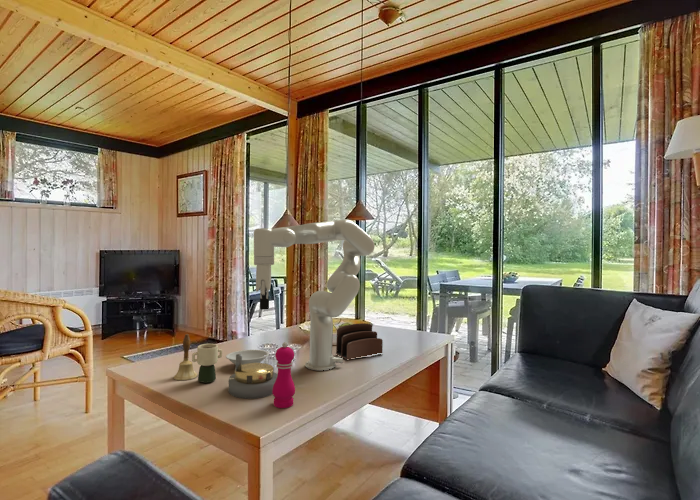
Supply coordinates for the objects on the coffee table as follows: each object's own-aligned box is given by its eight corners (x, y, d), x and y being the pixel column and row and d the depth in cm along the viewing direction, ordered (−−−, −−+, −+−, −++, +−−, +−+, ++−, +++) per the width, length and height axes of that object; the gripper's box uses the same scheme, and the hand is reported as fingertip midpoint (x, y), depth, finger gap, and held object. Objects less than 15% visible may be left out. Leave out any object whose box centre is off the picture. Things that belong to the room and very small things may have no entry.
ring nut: (266, 369, 146) (267, 346, 146) (278, 380, 135) (279, 355, 135) (230, 374, 139) (231, 350, 139) (240, 386, 128) (241, 360, 128)
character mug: (218, 375, 149) (219, 341, 149) (225, 381, 144) (225, 346, 144) (188, 381, 143) (189, 345, 142) (194, 387, 137) (195, 350, 137)
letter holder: (335, 355, 182) (336, 325, 181) (370, 350, 192) (371, 321, 192) (346, 361, 173) (347, 329, 173) (382, 355, 184) (383, 325, 183)
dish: (230, 375, 151) (230, 362, 151) (221, 364, 163) (221, 352, 163) (274, 368, 160) (274, 356, 160) (262, 359, 172) (262, 347, 172)
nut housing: (280, 380, 146) (280, 369, 146) (276, 398, 130) (276, 385, 129) (233, 380, 145) (234, 369, 145) (223, 398, 128) (223, 386, 128)
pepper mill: (267, 406, 123) (269, 343, 123) (279, 398, 130) (281, 338, 129) (287, 410, 120) (289, 346, 120) (298, 402, 127) (300, 340, 127)
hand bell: (173, 374, 149) (174, 332, 149) (197, 372, 153) (198, 331, 152) (173, 381, 142) (174, 338, 142) (197, 379, 145) (198, 336, 145)
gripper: (256, 259, 155) (256, 305, 156) (251, 262, 140) (252, 313, 141) (275, 259, 156) (275, 305, 157) (272, 262, 141) (273, 312, 142)
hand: (264, 308), depth 149 cm, fingers closed
